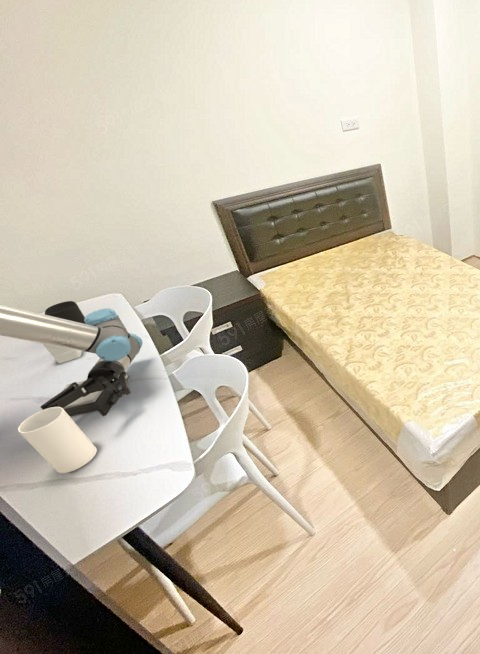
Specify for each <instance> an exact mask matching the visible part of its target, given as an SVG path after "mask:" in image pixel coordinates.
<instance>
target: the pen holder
mask: <svg viewBox="0 0 480 654" xmlns="http://www.w3.org/2000/svg"><path fill="white" fill-rule="evenodd" d="M44 315H49V316H53V317H57V318H62V319H66V320H70V321H74V322H79V323H83V324H86V323H85V321H84V319H85V317H86V316H85V315H84V314H83V312H82V310H81V308H80V307H79V305H78V304H77V303H76V302H75V301H73V300H66V301H62V302H59V303H56V304H55V303H54V304H53V305H51V306H49V307H47V308H46V309H45V311H44Z"/></svg>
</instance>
